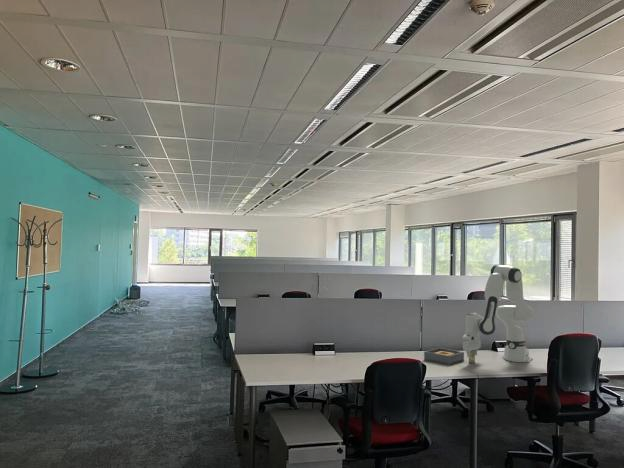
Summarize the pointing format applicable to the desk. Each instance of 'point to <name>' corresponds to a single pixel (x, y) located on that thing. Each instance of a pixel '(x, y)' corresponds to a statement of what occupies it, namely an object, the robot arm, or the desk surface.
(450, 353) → the walled box
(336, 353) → the desk surface
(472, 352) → the peg
